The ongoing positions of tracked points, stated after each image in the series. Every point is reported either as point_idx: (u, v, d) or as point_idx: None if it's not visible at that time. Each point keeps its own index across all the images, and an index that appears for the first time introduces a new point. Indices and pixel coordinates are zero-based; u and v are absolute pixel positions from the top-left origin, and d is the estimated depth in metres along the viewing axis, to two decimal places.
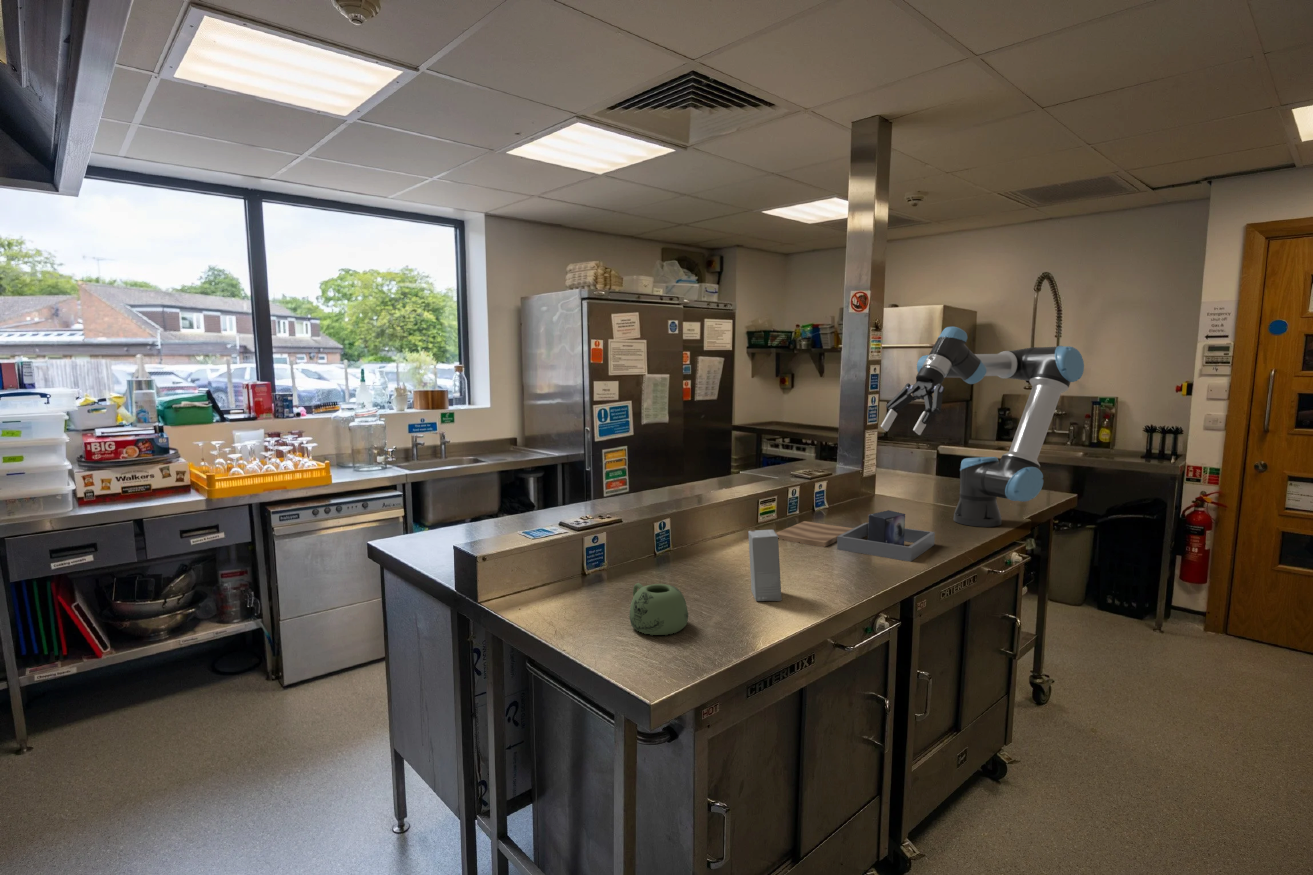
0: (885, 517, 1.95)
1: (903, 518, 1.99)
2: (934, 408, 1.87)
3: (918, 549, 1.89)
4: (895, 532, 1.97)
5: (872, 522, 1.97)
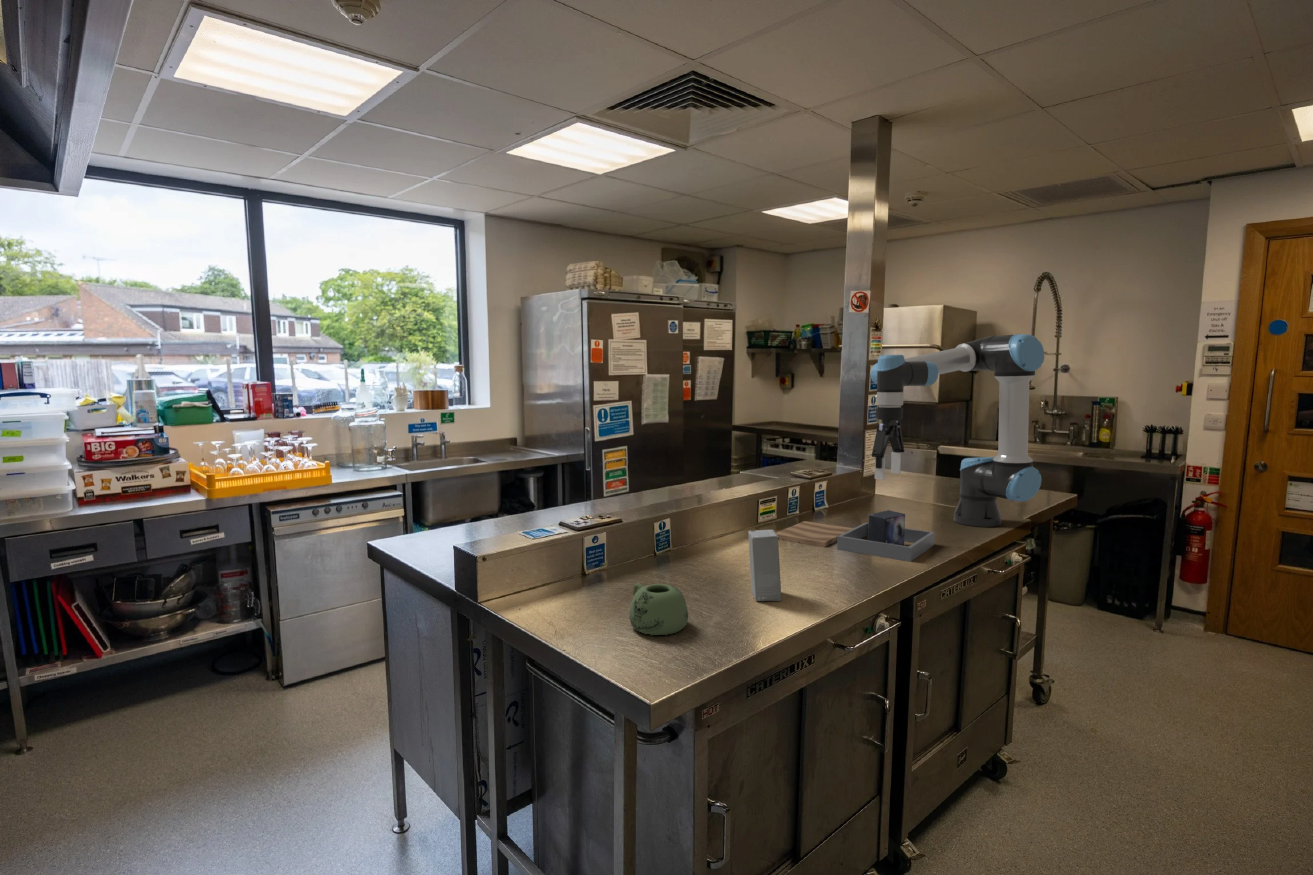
0: (885, 517, 1.95)
1: (903, 518, 1.99)
2: (872, 453, 1.90)
3: (918, 549, 1.89)
4: (895, 532, 1.97)
5: (872, 522, 1.97)
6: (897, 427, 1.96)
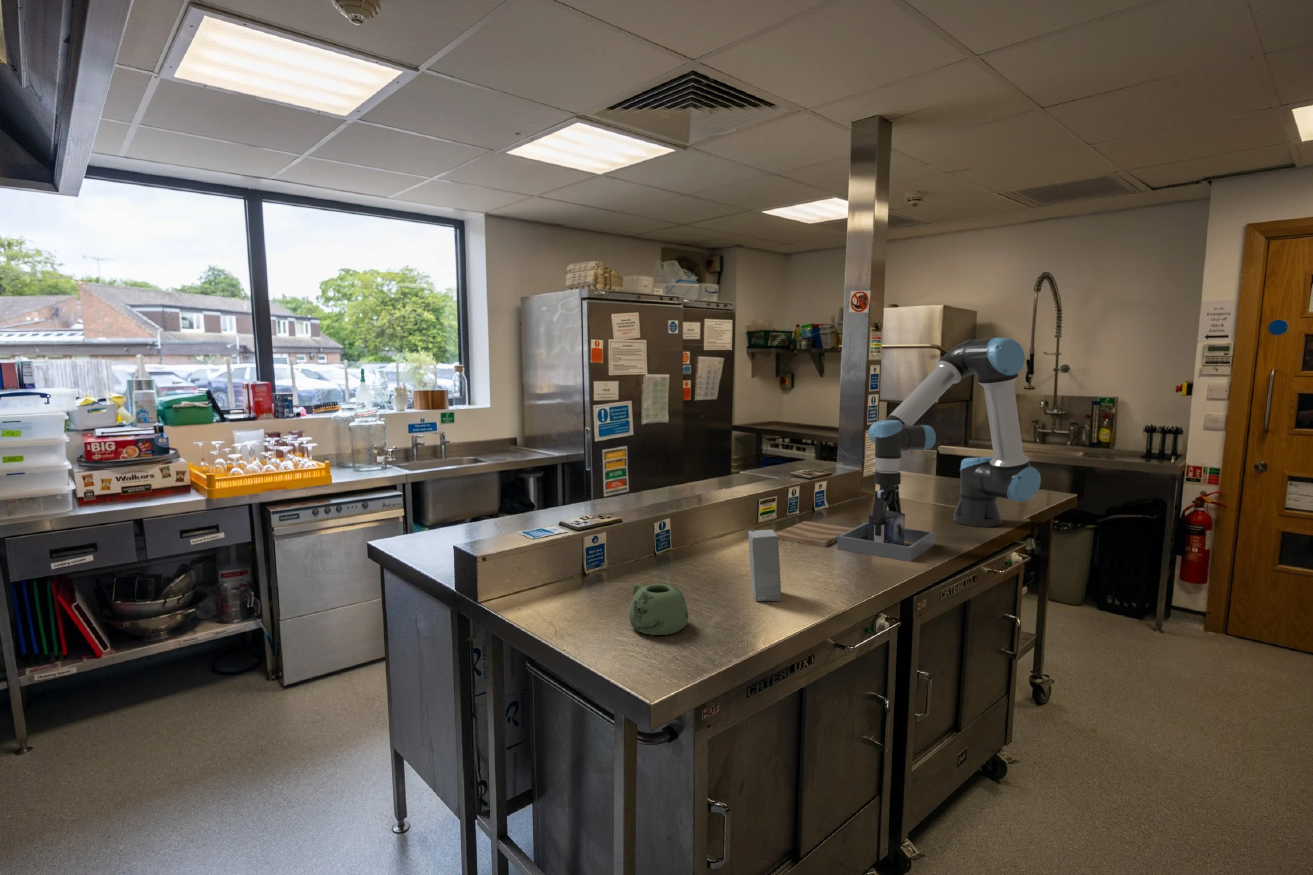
0: (885, 517, 1.95)
1: (903, 518, 1.99)
2: None
3: (918, 549, 1.89)
4: (895, 532, 1.97)
5: None
6: (895, 491, 1.98)
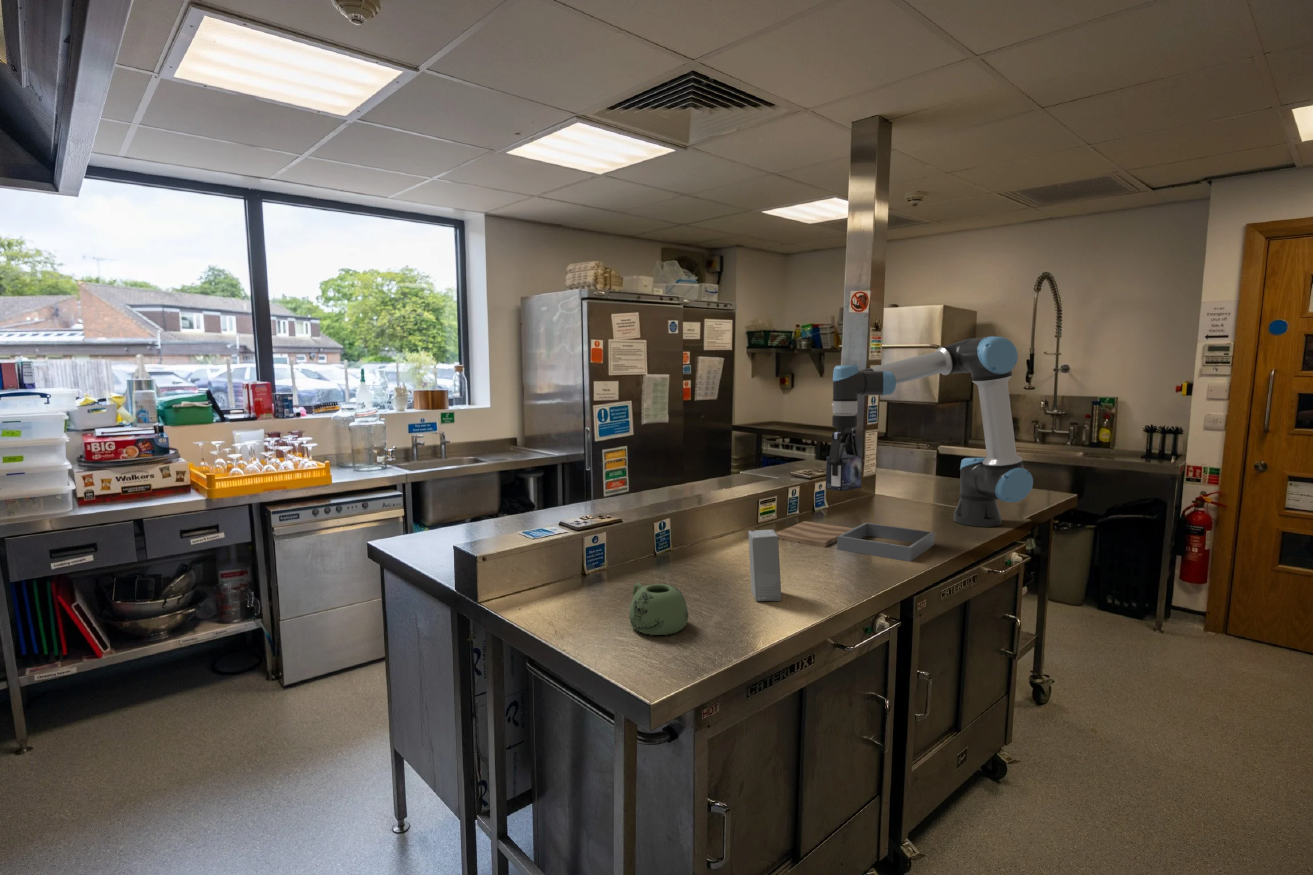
0: (842, 458, 2.01)
1: (860, 460, 2.06)
2: None
3: (918, 549, 1.89)
4: (851, 473, 2.03)
5: None
6: (852, 434, 2.05)
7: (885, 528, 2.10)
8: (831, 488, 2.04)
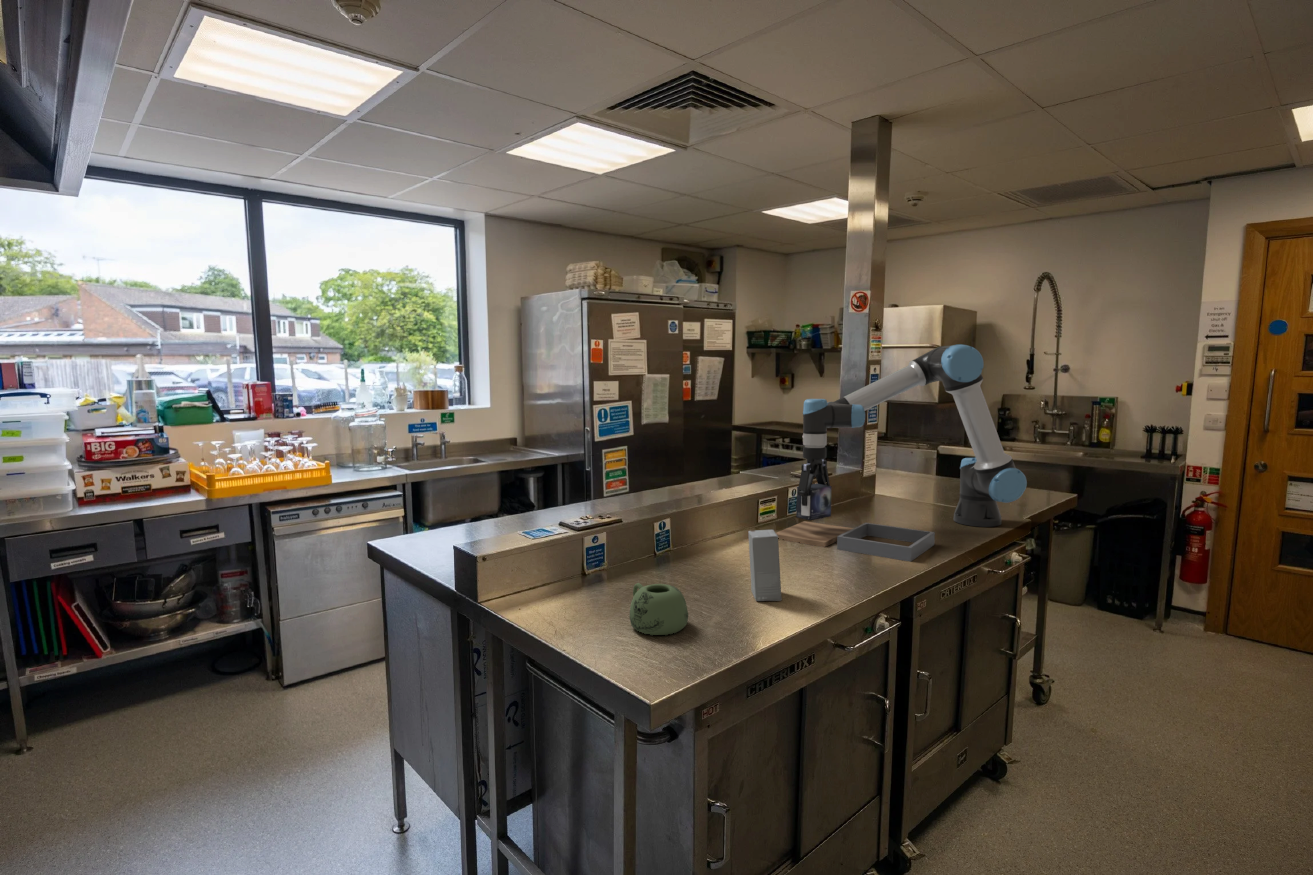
0: (811, 488, 2.09)
1: (829, 490, 2.13)
2: None
3: (918, 549, 1.89)
4: (821, 503, 2.11)
5: None
6: (822, 465, 2.13)
7: (885, 528, 2.10)
8: (801, 517, 2.12)
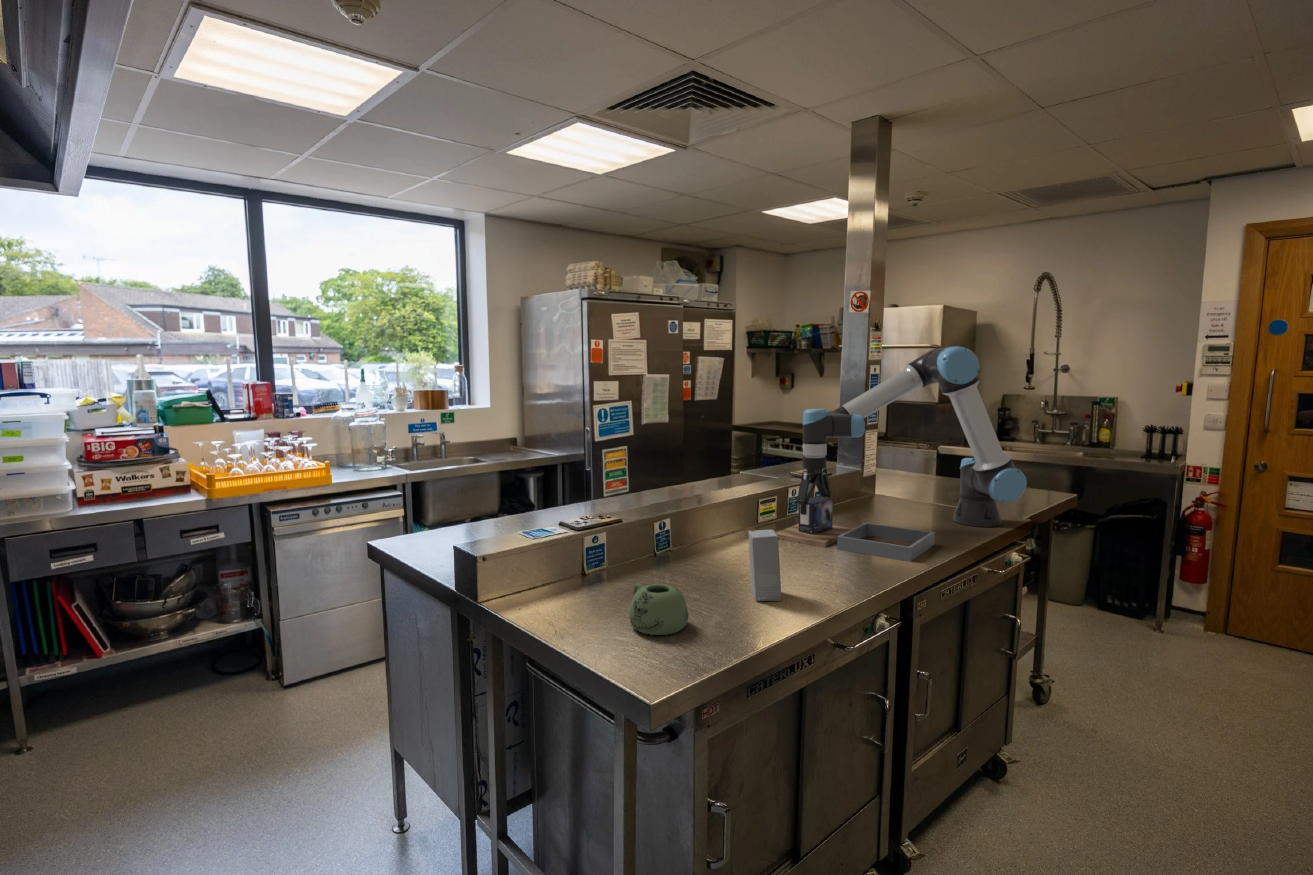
0: (813, 502, 2.10)
1: (831, 503, 2.15)
2: None
3: (918, 549, 1.89)
4: (823, 516, 2.12)
5: None
6: (822, 475, 2.13)
7: (885, 528, 2.10)
8: (804, 530, 2.13)
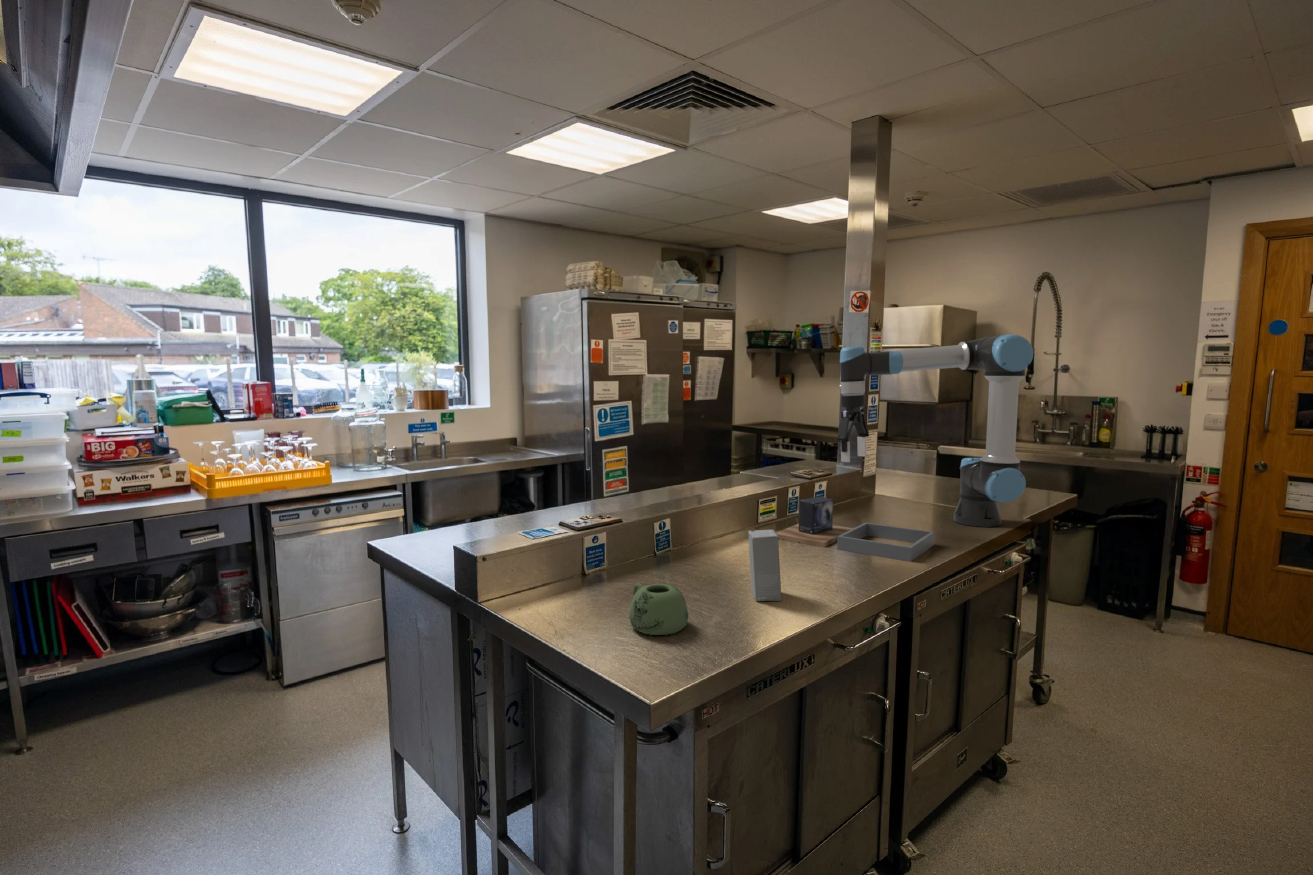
0: (813, 502, 2.10)
1: (831, 503, 2.15)
2: None
3: (918, 549, 1.89)
4: (823, 516, 2.12)
5: (802, 507, 2.13)
6: (860, 413, 2.13)
7: (885, 528, 2.10)
8: (804, 530, 2.13)
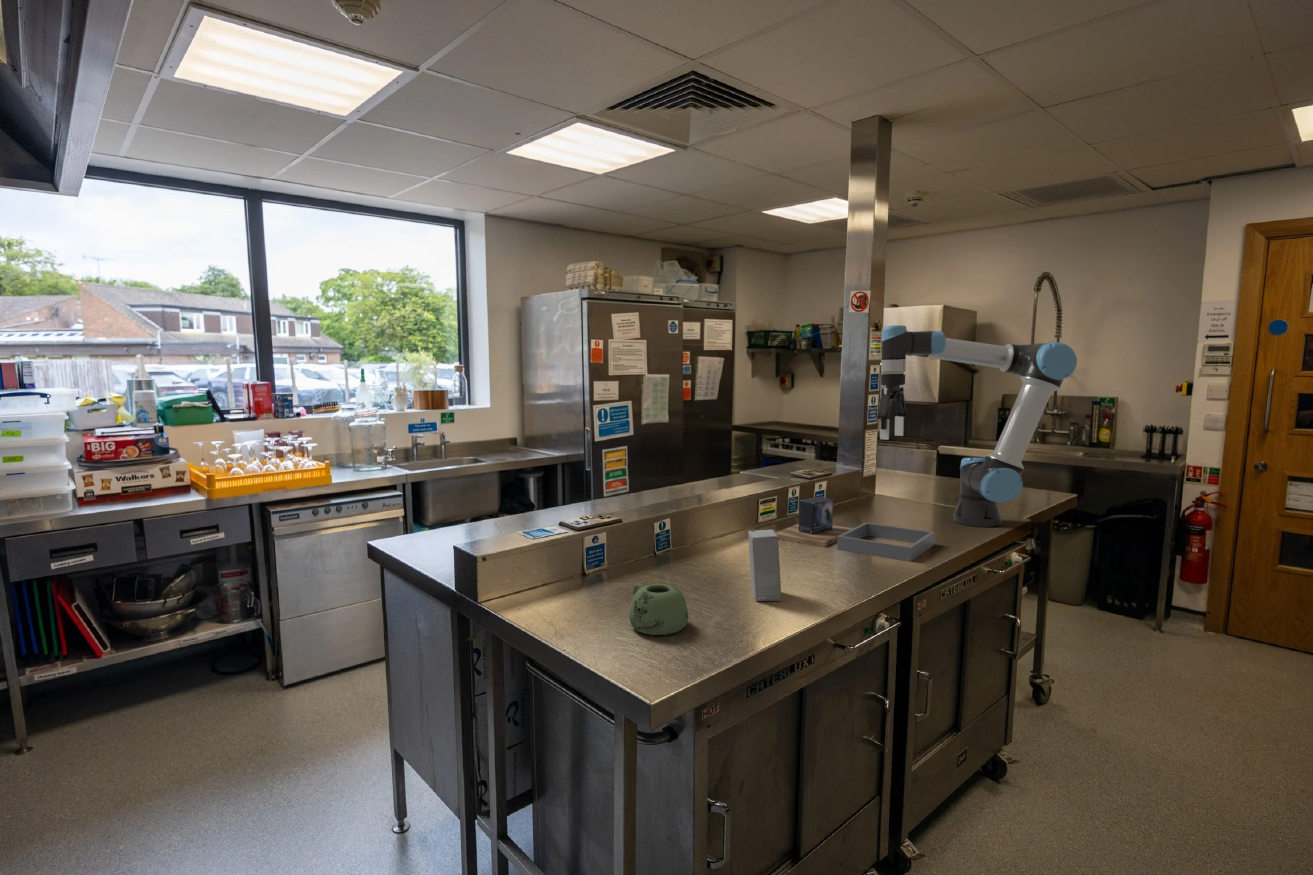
0: (813, 502, 2.10)
1: (831, 503, 2.15)
2: None
3: (918, 549, 1.89)
4: (823, 516, 2.12)
5: (802, 507, 2.13)
6: (900, 392, 2.14)
7: (885, 528, 2.10)
8: (804, 531, 2.13)
